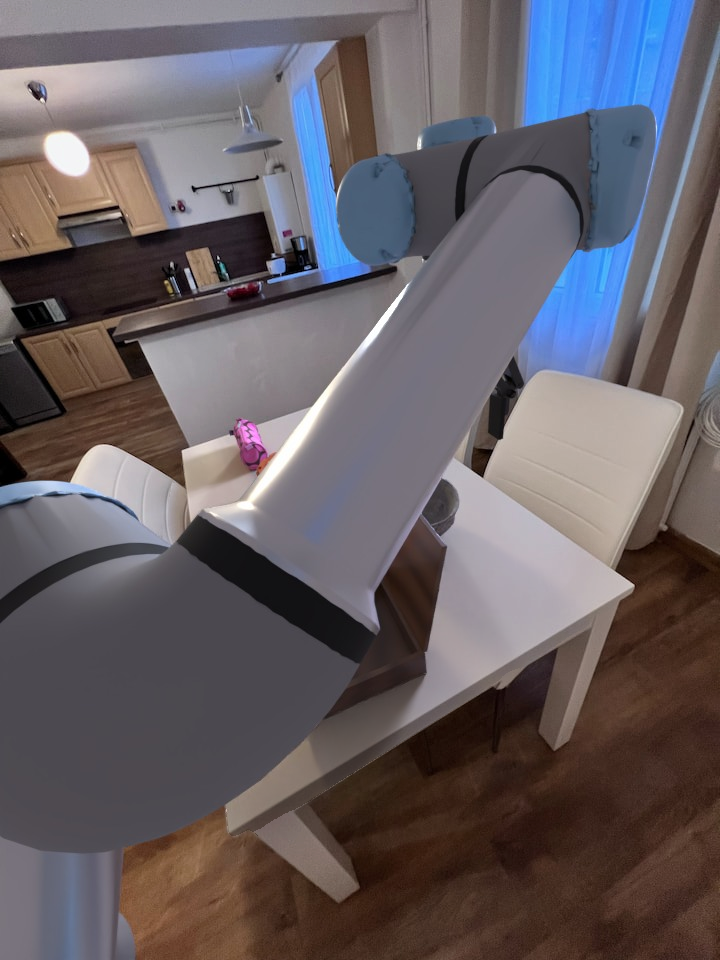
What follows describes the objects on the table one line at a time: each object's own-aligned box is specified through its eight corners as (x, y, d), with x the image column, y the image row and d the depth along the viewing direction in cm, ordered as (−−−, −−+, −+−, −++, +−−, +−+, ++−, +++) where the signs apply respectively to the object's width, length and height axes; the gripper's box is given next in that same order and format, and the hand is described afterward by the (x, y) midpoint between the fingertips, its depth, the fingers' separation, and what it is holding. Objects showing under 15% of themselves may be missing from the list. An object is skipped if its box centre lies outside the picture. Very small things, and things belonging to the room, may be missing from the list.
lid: (442, 547, 52) (469, 540, 54) (381, 469, 69) (403, 465, 70) (423, 653, 65) (445, 645, 66) (375, 565, 81) (394, 560, 82)
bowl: (478, 535, 92) (480, 501, 86) (404, 576, 86) (400, 543, 80) (424, 491, 108) (422, 461, 102) (358, 524, 101) (352, 493, 95)
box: (304, 728, 64) (295, 711, 60) (280, 624, 80) (272, 606, 77) (426, 673, 68) (425, 654, 65) (380, 585, 85) (377, 566, 81)
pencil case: (233, 446, 144) (224, 421, 138) (260, 437, 146) (252, 412, 140) (244, 474, 127) (234, 448, 121) (274, 464, 130) (265, 437, 124)
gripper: (524, 270, 53) (510, 415, 65) (346, 313, 47) (368, 462, 60) (567, 277, 47) (544, 435, 59) (369, 327, 41) (389, 489, 54)
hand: (456, 449), depth 59 cm, fingers open, 13 cm apart
